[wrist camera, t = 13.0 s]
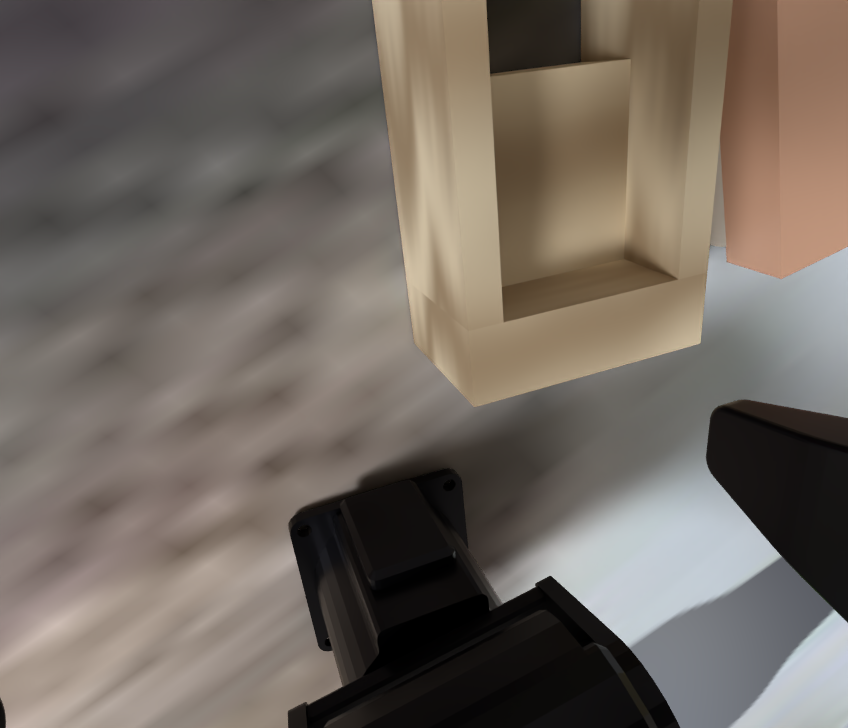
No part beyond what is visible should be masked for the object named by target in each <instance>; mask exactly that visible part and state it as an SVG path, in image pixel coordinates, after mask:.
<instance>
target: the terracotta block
mask: <svg viewBox="0 0 848 728" xmlns="http://www.w3.org/2000/svg"><path fill="white" fill-rule="evenodd" d="M720 150H721V166H722V183H723V199H724V216H725V232H726V256H727V262H729V263H732V264H735V265H738V266H742V267H745V268H748V269H751V270H754V271H758V272H761V273H764V274H767V275H770V276H774V277H777V278H780V279H782V278H784V277H786V276H788V275H790V274H792V273H795V272H797V271H799V270H801V269H803V268H805V267H807V266H809V265H811V264H813V263H815V262H817V261H819V260H821V259H823V258H825V257H828V256H830V255H832V254H834V253H836V252H838V251H840V250H842V249H844V248H846V247H848V0H733V5H732V15H731V26H730V36H729V47H728V58H727V68H726V79H725V89H724V100H723V110H722V121H721V131H720Z"/></svg>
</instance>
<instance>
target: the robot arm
mask: <svg viewBox="0 0 848 728" xmlns="http://www.w3.org/2000/svg"><path fill="white" fill-rule="evenodd" d="M706 461H707V465H708V468H709V470H710V472H711V474H712V475H713V476H714V478H715V479H716V480H717V481H718V482H719V484H720V485H721V486H722V487H723V488H724V489H725V491H726V492H727V493H728V494H729V495H730V496H731V498H732V499H733V500H734V501H735V502H736V504H737V505H738V506H739V507H740V508H741V509H742V511H743V512H744V513H745V514H746V515H747V516H748V518H749V519H750V520H751V521H752V522H753V523H754V525H755V526H756V527H757V528H758V529H759V531H760V532H761V533H762V534H763V535H764V536H765V538H766V539H767V540H768V541H769V542H770V543H771V545H772V546H773V547H774V548H775V549H776V550H777V552H778V553H779V554H780V555H781V556H782V557H783V558H784V559H785V560H786V562H787V563H788V564H789V565H790V566H791V567H792V568H793V569H794V570H795V571H796V572H797V573H798V574H799V575H800V576H801V577H802V578H803V579H804V580H805V581H806V582H807V583H808V584H809V585H810V586H811V587H812V588H813V589H814V590H815V591H816V592H817V593H818V594H819V595H820V596H821V597H822V598H823V599H824V600H825V601H826V602H827V603H828V604H829V605H830V606H832V607H833V609H834V610H835V611H836V612H837V613H838V614H840V615H841V616H842V617H843V618H844V619H845V620H846V621H847V622H848V418H844V417H838V416H833V415H828V414H822V413H817V412H811V411H806V410H800V409H795V408H789V407H784V406H778V405H773V404H767V403H762V402H756V401H751V400H736V401H733V402H730V403H727V404H724V405H721V406H718V407H717V408H715V409H714V411H713V412H712V414H711V417H710V425H709V434H708V443H707V452H706ZM447 480H451V482H450V483H449V484H447V485H443V484H444V483H445V482H446V481H447ZM302 525H309V526H308V528H306V529H304V530H298V529H299V527H301V526H302ZM289 532H290V536H291V540H292V544H293V548H294V552H295V556H296V560H297V564H298V568H299V571H300V575H301V579H302V583H303V587H304V591H305V595H306V599H307V603H308V607H309V611H310V615H311V618H312V622H313V626H314V630H315V634H316V638H317V642H318V646H319V648H320V649H321V650H323V651H332V650H333V653H334V657H335V660H336V664H337V668H338V671H339V675H340V678H341V682H342V685H343V687H341V688H339V689H337V690H335V691H333V692H332V693H330V694H328V695H326V696H324V697H322V698H320V699H318V700H316V701H314V702H312V703H310V704H307V702H305V703H303V704H301V705H299V706H297V707H295V708H293V709H291V710H289V711H288V728H680V726H679V724H678V722H677V720H676V718H675V716H674V715H673V713H672V711H671V709H670V707H669V705H668V703H667V701H666V700H665V698H664V696H663V695H662V693H661V692H660V690H659V688H658V687H657V685H656V684H655V682H654V680H653V679H652V678H651V676H650V675H649V673H648V672H647V670H646V669H645V668H644V666H643V665H642V663H641V662H640V661H639V660H638V658H637V657H636V656H635V655H634V654H633V653H632V651H631V650H630V649H629V648H628V647H627V646H626V644H625V643H624V642H623V641H622V640H621V639H620V638H619V637H618V636H616V635H615V634H614V633H613V632H612V631H611V630H610V629H609V628H608V627H607V626H605V625H604V624H603V623H602V622H601V621H600V620H599V619H598V618H597V617H596V616H594V615H593V614H592V613H591V612H590V611H589V610H588V609H587V608H586V607H585V606H583V605H582V604H581V603H580V602H579V601H578V600H577V599H576V598H575V597H574V596H573V595H571V594H570V593H569V592H568V591H567V590H566V589H565V588H564V587H563V586H562V585H560V584H559V583H558V582H557V581H556V580H555V579H554V578H553V577H552V576H549V577H547V578H545V579H543V580H541V581H539V582H537V583H536V584H535V586H536V587H535V588H533V589H531V590H529V591H527V592H525V593H523V594H521V595H519V596H517V597H515V598H513V599H512V600H510V601H508V602H506V603H504V604H503V603H502V602H501V600H500V599H499V597H498V595H497V594H496V592H495V591H494V589H493V588H492V586H491V584H490V583H489V581H488V580H487V578H486V577H485V575H484V573H483V572H482V570H481V569H480V567H479V566H478V564H477V562H476V561H475V559H474V558H473V556H472V555H471V553H470V551H469V550H468V542H467V532H466V522H465V511H464V501H463V491H462V481H461V478H460V477H459V475H458V474H457V473H456V472H455V471H454V470H453V469H450V468H447V469H442V470H439V471H435V472H432V473H429V474H426V475H422V476H419V477H416V478H413V479H409V480H404V481H401V482H398V483H394V484H391V485H388V486H385V487H381V488H378V489H375V490H371V491H368V492H365V493H362V494H358V495H355V496H352V497H349V498H346V499H344V500H341V501H337V502H334V503H331V504H328V505H324V506H321V507H318V508H315V509H311V510H308V511H305V512H301V513H299V514H297V515H295V516H294V517H293V518H292V519H291V520H290V522H289ZM328 637H329V638H328ZM327 638H328V639H327ZM0 728H6V717H5V710H4V706H3V703H2V701H1V699H0Z"/></svg>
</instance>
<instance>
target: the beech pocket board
mask: <svg viewBox="0 0 848 728" xmlns="http://www.w3.org/2000/svg"><path fill="white" fill-rule="evenodd" d="M372 5H373V13H374V21H375V29H376V37H377V45H378V53H379V61H380V70H381V78H382V86H383V94H384V102H385V110H386V118H387V126H388V134H389V142H390V151H391V159H392V167H393V175H394V183H395V191H396V199H397V207H398V215H399V223H400V232H401V240H402V248H403V256H404V264H405V272H406V280H407V288H408V296H409V305H410V313H411V321H412V329H413V337H414V343H415V344H416V345H417V346H418V348H419V349H420V350H421V351H422V352H423V353H424V354H425V355H426V356H427V357H428V358H429V359H430V360H431V361H432V362H433V364H434V365H435V366H436V367H437V368H438V369H439V370H440V371H441V372H442V373H443V374H444V375H445V376H446V377H447V378H448V379H449V381H450V382H451V383H452V384H453V385H454V386H455V387H456V388H457V389H458V390H459V391H460V392H461V393H462V394H463V395H464V396H465V398H466V399H467V400H468V401H469V402H470V403H471V404H472V405H473V406H474V407H477V406H481V405H484V404H488V403H491V402H495V401H498V400H502V399H506V398H509V397H513V396H516V395H520V394H523V393H527V392H530V391H534V390H538V389H541V388H545V387H548V386H552V385H555V384H559V383H562V382H566V381H569V380H573V379H577V378H580V377H584V376H587V375H591V374H594V373H598V372H601V371H605V370H609V369H612V368H616V367H619V366H623V365H626V364H630V363H633V362H637V361H641V360H644V359H648V358H651V357H655V356H658V355H662V354H665V353H669V352H672V351H676V350H680V349H683V348H687V347H690V346H694V345H697V344H700V343H701V332H702V322H703V311H704V300H705V290H706V279H707V269H708V258H709V248H710V237H711V227H712V216H713V205H714V195H715V184H716V174H717V163H718V153H719V142H720V131H721V121H722V110H723V100H724V89H725V79H726V68H727V58H728V47H729V36H730V26H731V15H732V5H733V0H581V62H579V63H571V64H563V65H555V66H547V67H540V68H532V69H524V70H516V71H508V72H500V73H493V74H490V63H489V45H488V26H487V8H486V0H372Z"/></svg>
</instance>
